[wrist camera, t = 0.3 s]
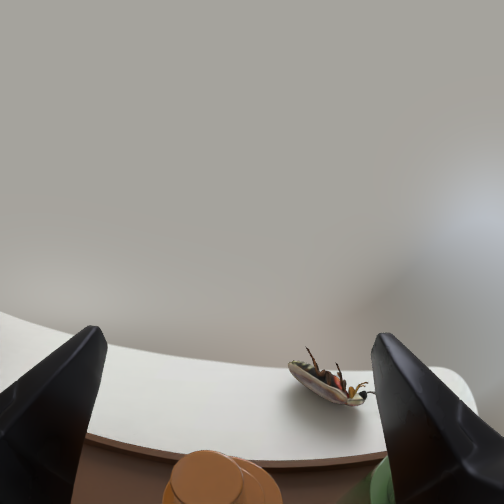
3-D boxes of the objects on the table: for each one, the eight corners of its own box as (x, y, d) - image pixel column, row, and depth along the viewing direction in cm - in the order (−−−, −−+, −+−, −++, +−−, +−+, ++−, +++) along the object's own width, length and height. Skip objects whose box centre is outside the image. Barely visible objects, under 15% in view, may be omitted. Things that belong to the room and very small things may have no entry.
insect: (295, 337, 24) (275, 368, 23) (395, 390, 19) (375, 425, 18) (304, 351, 28) (287, 377, 28) (385, 394, 24) (368, 422, 23)
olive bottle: (401, 537, 11) (534, 479, 4) (329, 552, 11) (424, 534, 4) (394, 481, 16) (498, 381, 9) (327, 491, 16) (398, 404, 9)
